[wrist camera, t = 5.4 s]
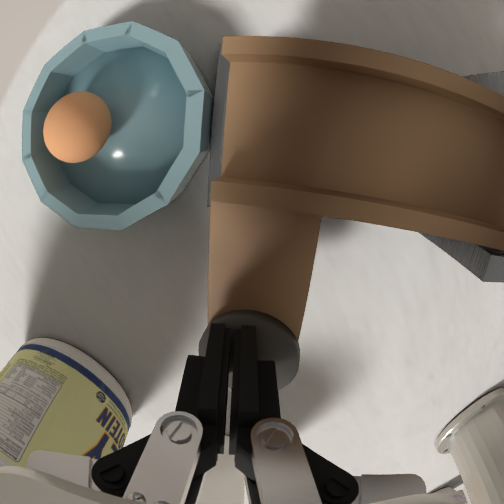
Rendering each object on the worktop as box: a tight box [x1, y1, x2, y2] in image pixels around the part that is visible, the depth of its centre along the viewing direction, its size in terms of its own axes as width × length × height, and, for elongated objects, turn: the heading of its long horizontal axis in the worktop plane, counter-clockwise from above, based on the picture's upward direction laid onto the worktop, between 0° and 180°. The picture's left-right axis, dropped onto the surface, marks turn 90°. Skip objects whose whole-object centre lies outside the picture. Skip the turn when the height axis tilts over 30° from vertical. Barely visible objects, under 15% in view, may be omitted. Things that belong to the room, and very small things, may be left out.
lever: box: [199, 36, 504, 390], centre depth 8 cm, size 22×13×3 cm, turn 86°
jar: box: [198, 435, 245, 504], centre depth 19 cm, size 9×8×12 cm
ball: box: [43, 91, 112, 163], centre depth 11 cm, size 4×4×4 cm
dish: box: [22, 21, 214, 230], centre depth 12 cm, size 10×10×3 cm
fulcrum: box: [208, 44, 504, 282], centre depth 10 cm, size 23×8×8 cm, turn 85°
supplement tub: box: [0, 338, 132, 467], centre depth 14 cm, size 12×12×17 cm
